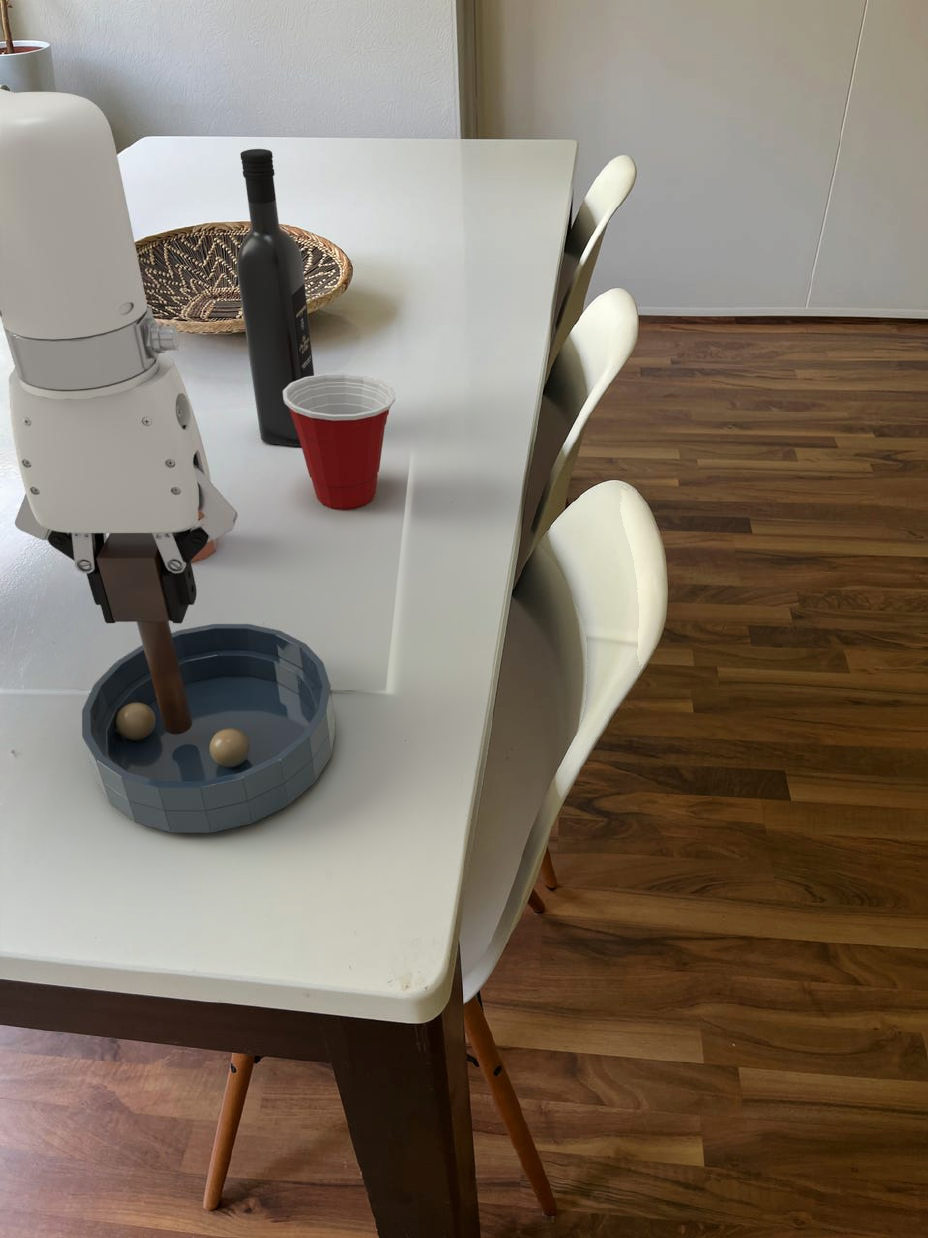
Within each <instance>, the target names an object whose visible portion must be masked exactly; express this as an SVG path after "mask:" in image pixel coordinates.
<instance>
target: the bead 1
mask: <svg viewBox="0 0 928 1238" xmlns="http://www.w3.org/2000/svg"><path fill="white" fill-rule="evenodd" d="M155 724H156V717H155V714H154V712H153V710H152V709H151V708H150V707H149V706H147V705H145V704H143V703H138V702H135V703H130V704H127V705H126V706H124V707H123V708H122V709H121V710H120V711H119V713H118V715H117V717H116V727H117V730H118V731H119V733H120V734H121V735H122V736H123V737H124V738H126V739H129V740H134V741H137V740H142V739H144V738H146V737H148V736H149V735H150V734H151V733H152V732H153V730H154V728H155Z"/></svg>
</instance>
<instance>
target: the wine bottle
mask: <svg viewBox="0 0 928 1238" xmlns="http://www.w3.org/2000/svg"><path fill="white" fill-rule="evenodd" d="M239 156H240V160H241V165H242V177H243V178H244V179H245V188H246V196H247V204H248V212H249V220H250V221H249V222H250V228H251V229H250V231H249V232H248V233H247V234H246V235H245V237H244V238H243V240H242V242H241V244H240V246H239V250H238V251H237V252H238V253H237V257H236V275H237V282H238V288H239V295H240V303H241V309H242V310H241V311H242V316H243V323H244V331H245V337H246V345H247V353H248V359H249V365H250V372H251V380H252V387H253V393H254V400H255V401H254V402H255V406H256V407H255V408H256V415H257V420H258V428H259V435H260V439H261V441H262V442H263V443H266V444H271V445H272V444H273V445H282V446H293V447H301V443H300V440H299V436H298V433H297V430H296V429H295V425H294V421H293V419H292V416H291V412H290V411H289V408H288V406H287V405H286V404H285V402H284V399H283V390H284V389H285V388H286V387H287V386H288V385H289V384H290V383H292V382H294V381H297V380H299V379H302V378H304V377H309V376H315V370H314V361H313V359H314V358H313V349H312V341H311V330H310V322H309V321H310V320H309V312H308V300H307V293H306V282H305V271H304V263H303V262H304V261H303V257H302V253H301V250H300V247H299V245H298V243H297V242H296V241H295V239H294V238H293V237H292V236H290V235H289V233H287V232H286V231H285V230H284V229H282V228H281V226H280V224H279V223H280V221H279V214H278V213H279V212H278V206H277V197H276V189H275V188H276V187H275V181H274V176H275V174H276V173H275V169H274V164H273V163H274V160H273V158H274V155H273V151H271V150H269V149H267V148H266V149H265V148H251V149H247V150H246V149H245V150H243V151H241V152H240V155H239Z"/></svg>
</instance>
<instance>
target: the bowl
mask: <svg viewBox="0 0 928 1238" xmlns="http://www.w3.org/2000/svg"><path fill="white" fill-rule="evenodd" d="M171 634H172V638H173V642H174V646H175V651H176V655H177V659H178V663H179V668H180V672H181V676H182V680H183V684H184V689H185V693H186V697H187V701H188V706H189V710H190V714H191V718H192V726H191V728H190V729H189V730H188V731H186V732H184V733H182V734H177V735H174V734H170V733H168V732H166V730H165V728H164V724H163V721H162V717H161V713H160V709H159V705H158V701H157V698H156V694H155V690H154V686H153V682H152V679H151V675H150V671H149V667H148V663H147V659H146V656H145V652H144V648H143V644H142V645H140V646H138V647H137V648H135V649H134V650H132V651H131V652H128V653H127V654H126V655H124V656H123V657H121V658H119V659H118V660H116V661H115V662H114V663H113V664H112V665H111V666H110V667H109V668H108V669H107V670H106V671H105V672H104V674H102V676H101V677H99V679H98V680H97V681H96V682H95V683H94V685H92V688H91V690H90V693H89V694H88V697H87V698H86V701H85V703H84V705H83V707H82V709H81V737H82V741H83V743H84V747H85V749H86V753H87V755H88V756H87V757H88V759H89V761H90V765H91V767H92V770H93V773H94V776H95V779H96V782H97V784H98V785H99V787H100V790H102V793H103V794H104V796H105V798H106V799H107V801H108V803H109V805H110V806H112V807H113V808H115V809H116V810H117V811H119V812H120V813H122V814H123V815H124V816H126V817H127V818H129V819H130V820H131V821H133V822H134V823H136V824H140V825H142V826H147V827H150V828H154V829H157V830H161V831H165V832H167V833H197V834H198V833H204V834H205V833H216V832H219V831H224V830H229V829H233V828H237V827H241V826H246V825H250V824H253V823H256V822H257V821H259V820H261V819H263V818H265V817H268V816H270V815H271V814H273V813H276V812H278V811H280V810H281V809H284V808H285V807H287V806H289V805H290V804H291V803H293V802H294V801H295V800H296V799H297V798H298V797H300V795H302V794H303V793H304V792H305V791H306V790H308V789H309V788H310V787H311V786H312V785H314V783H316V781H317V780H318V779H319V777H320V775H321V773H322V771H323V770H324V768H325V767H326V765H327V763H328V761H329V760H330V758H331V757H332V754H333V748H334V741H335V734H336V722H335V721H336V720H335V713H334V704H333V694H332V687H331V683H330V679H329V675H328V673H327V669H326V666H325V663H324V661H323V660H321V658H320V657H319V656H318V655H317V654H316V653H315V652H314V651H313V650H312V649H311V648H310V647H309V645H308V644H307V643H305V642H303V641H301V640H299V639H297V638H296V637H293V636H292V635H290V634H288V633H285V632H283V631H282V630H278V629H274V628H269V627H266V626H265V627H264V626H259V625H256V624H251V623H210V624H206V625H200V626H196V627H195V626H194V627H190V628H184V629H179V630H175V631H173V632H171ZM135 702H138V703H143V704H145V705H147V706H149V707H150V708H151V709H152V710H153V712H154V714H155V717H156V724H155V728H154V730H153V732H152V733H151V734H150V735H149V736H148V737H146V738H144V739H142V740H137V741H134V740H129V739H126V738H124V737H123V736H122V735H121V734H120V733H119V731H118V730H117V727H116V717H117V715H118V713H119V711H120V710H121V709H122V708H123V707H124V706H126V705H127V704H130V703H135ZM227 728H234V729H237V730H239V731H241V732H243V733H244V734H245V735H246V737H247V738H248V741H249V745H250V750H249V754H248V756H247V758H246V759H245V761H244V762H243V763H241V764H240V765H238V766H236V767H231V768H227V767H222V766H220V765H218V764H217V763H216V762H215V761H214V760H213V759H212V757H211V755H210V742H211V740H212V738H213V737H214V735H215V734H216V733H218V732H219V731H221V730H223V729H227Z"/></svg>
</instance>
